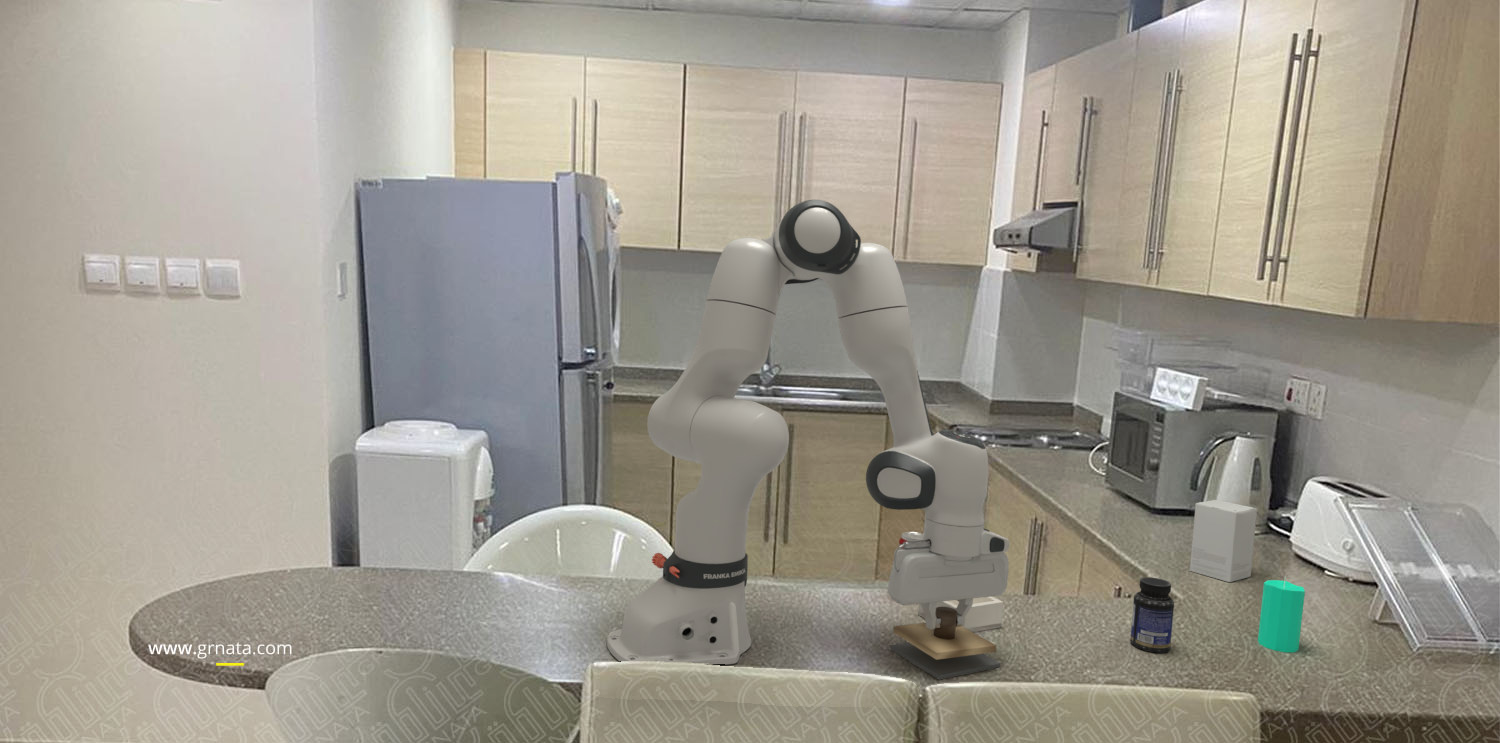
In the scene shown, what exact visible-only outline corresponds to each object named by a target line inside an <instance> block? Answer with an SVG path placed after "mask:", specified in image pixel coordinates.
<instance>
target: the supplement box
mask: <svg viewBox="0 0 1500 743" xmlns="http://www.w3.org/2000/svg"><path fill="white" fill-rule="evenodd" d="M1194 505H1195V506H1194V518H1193V531H1192V540H1191V541H1192V542H1191V552H1190V565H1189V572H1191V573H1192V572H1193V573H1196V574H1199V575H1202V576H1206V577H1211V578H1213V579H1217V580H1220V581H1222V582H1223V581H1224V582H1227V583H1232V582H1236V581H1239V580H1240V581H1241V580H1243V579H1246V578H1250V577H1251V575H1252V567H1253V557H1254V555H1253V554H1254V545H1255V537H1256V536H1255V535H1256V526H1257V525H1256V522H1257V515H1258V508H1256V507H1252V506H1247V505H1243V504H1238V503H1233V502H1229V501H1224V500H1220V499H1211V500H1207V501H1200V502H1196V503H1195V504H1194Z"/></svg>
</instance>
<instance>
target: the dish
mask: <svg viewBox="0 0 1500 743" xmlns="http://www.w3.org/2000/svg"><path fill="white" fill-rule="evenodd" d="M958 604H959V601H957V600H951V601H941V602H937V607H949V608H953V609H955V610H956V608H957V606H958ZM937 607H936V608H937ZM936 608H935V609H934V608H933V610H934V612H935V613H936ZM1003 610H1004V601H1002V600H1000V599H998V598H996V597H995V596H992V597H981V598H973V605H972V606H971V608H970V610H969V611H968V613H967V615H966V616H965V623H964V626H962V627H964V628H966V629H968V630H969V631H971V632H973V633H976V632H983V631H989V630H993V629H995V630H996V629H999V628H1002V626H1003V625H1002V622H1003V612H1004V611H1003ZM917 612H918V613H917V615H918V616H920V617H921V618H923V619H925V620H926V615H925V613H924V611H923V609H922V606H921V604H918V610H917Z"/></svg>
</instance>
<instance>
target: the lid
mask: <svg viewBox="0 0 1500 743" xmlns="http://www.w3.org/2000/svg"><path fill="white" fill-rule="evenodd" d="M935 615H936V616H937V617H939V618H941V623H940V629H934V630H930V629H929V628H927V627H926V622H920V623H912V624H911V623H909V624H902V625H894V626H893V634H895V635H897V636H898V637H899V638H902V640H905V641H906V642H909V643H911V644H912V645H914V646H916V647H917V648H919V649H920V650H922V651H923V652H925V653H927V654H928V655H930V656H931V657H933V658H934V659H936V660H938V659H946V658H953V657H961V656H968V655H976V654H990V653H996V652H997V645H996V644H995V643H993V642H991V641H989V640H988V639H985V638H984V637H982V636H980V635H979V634H976V632H971V631H969V630H968V629H966V628H964V627H962V626H960V627H956V619H957V611H956V610H955V609H953V608H949V607H937V608H936V613H935Z"/></svg>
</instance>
